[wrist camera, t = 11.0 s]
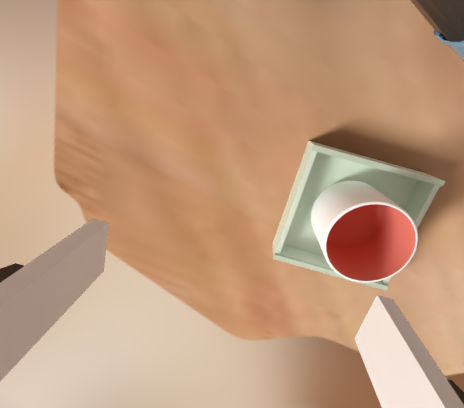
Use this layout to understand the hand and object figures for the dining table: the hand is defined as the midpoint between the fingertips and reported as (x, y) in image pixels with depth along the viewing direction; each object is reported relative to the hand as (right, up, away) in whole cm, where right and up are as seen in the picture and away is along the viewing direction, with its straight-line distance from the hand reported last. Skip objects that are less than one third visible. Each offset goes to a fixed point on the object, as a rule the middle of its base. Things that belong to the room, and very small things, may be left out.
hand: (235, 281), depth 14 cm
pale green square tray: (+16, +3, +28) cm, 32 cm away
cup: (+16, +3, +27) cm, 32 cm away
